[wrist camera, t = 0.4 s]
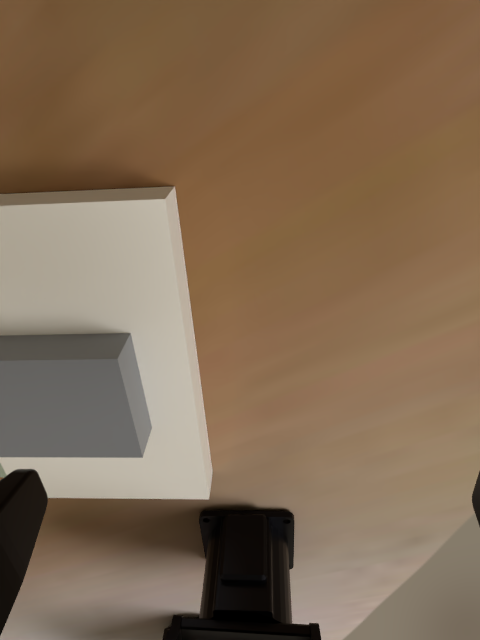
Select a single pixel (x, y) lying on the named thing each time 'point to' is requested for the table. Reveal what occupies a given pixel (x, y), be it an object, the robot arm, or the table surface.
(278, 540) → the robot arm
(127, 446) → the slate tile
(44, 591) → the table surface
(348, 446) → the table surface
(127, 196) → the cream block
